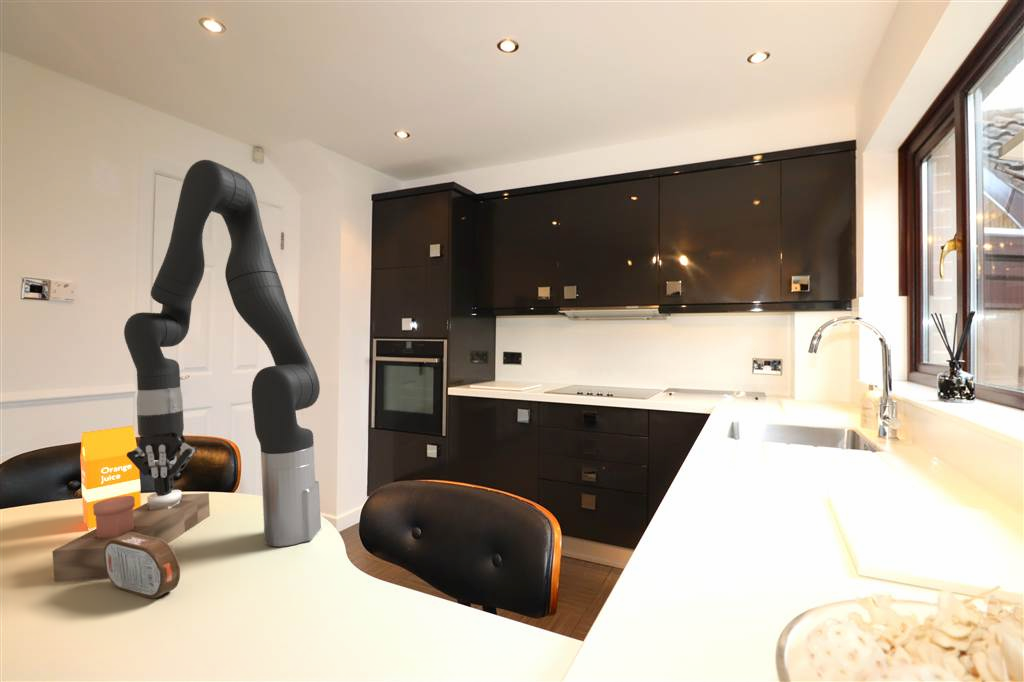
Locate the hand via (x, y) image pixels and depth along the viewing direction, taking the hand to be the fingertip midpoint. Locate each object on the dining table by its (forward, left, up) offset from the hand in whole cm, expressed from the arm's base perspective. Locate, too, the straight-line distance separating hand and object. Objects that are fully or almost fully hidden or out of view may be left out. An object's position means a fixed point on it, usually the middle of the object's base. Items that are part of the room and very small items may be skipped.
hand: (164, 494), depth 96 cm
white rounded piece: (0, 0, -6) cm, 7 cm away
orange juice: (+16, -7, -8) cm, 19 cm away
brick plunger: (0, +13, -3) cm, 13 cm away
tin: (-12, +25, -8) cm, 28 cm away
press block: (0, +7, -7) cm, 10 cm away
